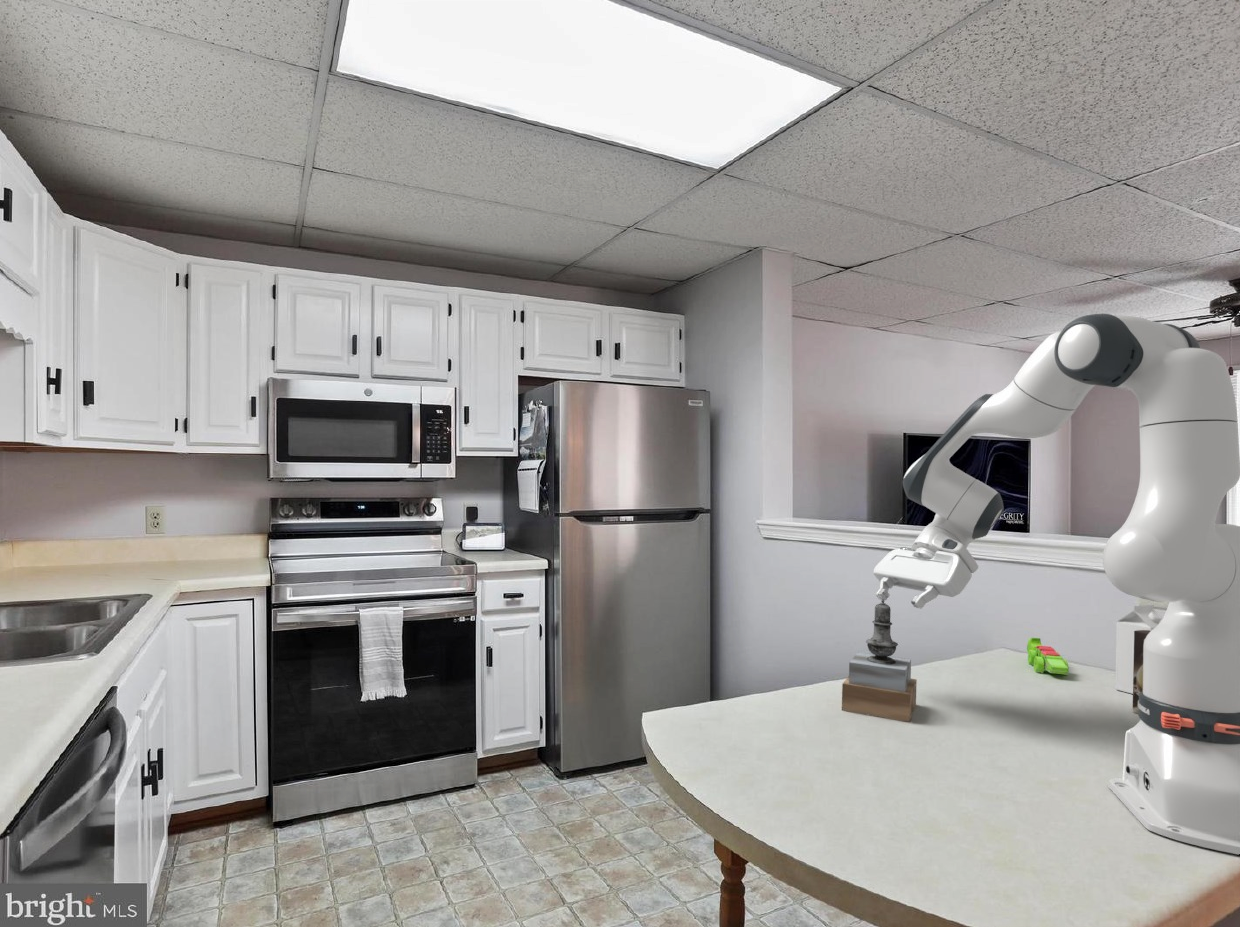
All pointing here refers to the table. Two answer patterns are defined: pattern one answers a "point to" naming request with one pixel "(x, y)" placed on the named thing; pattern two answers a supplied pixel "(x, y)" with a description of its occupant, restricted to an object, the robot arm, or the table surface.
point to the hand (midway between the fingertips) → (897, 601)
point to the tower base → (880, 688)
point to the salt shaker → (881, 637)
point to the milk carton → (1131, 642)
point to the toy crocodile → (1045, 658)
